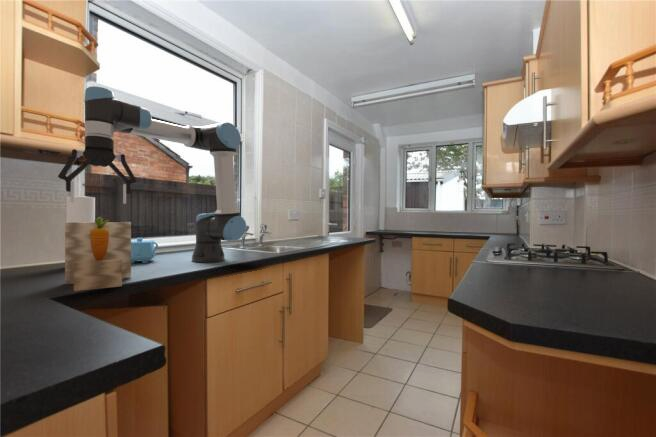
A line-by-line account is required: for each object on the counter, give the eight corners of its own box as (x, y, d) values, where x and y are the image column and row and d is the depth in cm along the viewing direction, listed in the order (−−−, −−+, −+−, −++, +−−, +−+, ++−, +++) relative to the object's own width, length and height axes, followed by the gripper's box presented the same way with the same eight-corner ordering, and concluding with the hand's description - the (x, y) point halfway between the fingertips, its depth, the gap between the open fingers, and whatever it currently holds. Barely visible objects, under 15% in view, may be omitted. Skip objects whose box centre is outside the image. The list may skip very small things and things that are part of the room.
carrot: (97, 261, 104) (98, 216, 104) (112, 261, 104) (113, 217, 103) (85, 263, 99) (86, 216, 99) (101, 264, 99) (101, 217, 98)
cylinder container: (79, 269, 126) (79, 195, 126) (60, 268, 128) (60, 195, 128) (100, 265, 136) (100, 196, 135) (82, 264, 138) (82, 196, 137)
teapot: (160, 258, 157) (160, 236, 157) (154, 264, 140) (154, 239, 140) (123, 260, 151) (124, 236, 151) (112, 266, 135) (113, 240, 134)
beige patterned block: (130, 277, 112) (130, 222, 112) (133, 284, 101) (133, 223, 101) (65, 283, 102) (65, 222, 102) (60, 292, 91) (60, 224, 91)
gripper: (143, 144, 111) (143, 204, 111) (49, 133, 97) (50, 202, 97) (145, 140, 105) (145, 203, 105) (46, 128, 90) (46, 201, 91)
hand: (99, 203), depth 101 cm, fingers open, 13 cm apart
